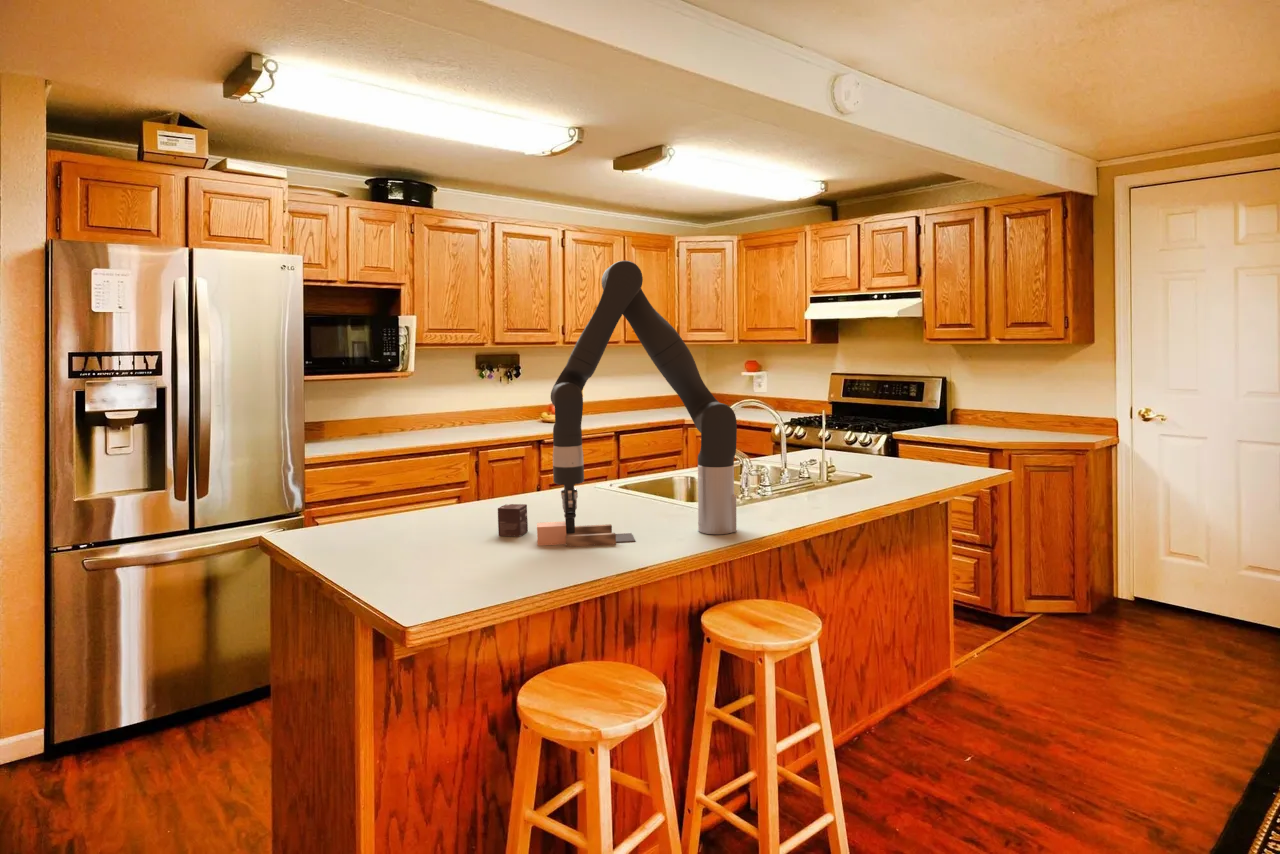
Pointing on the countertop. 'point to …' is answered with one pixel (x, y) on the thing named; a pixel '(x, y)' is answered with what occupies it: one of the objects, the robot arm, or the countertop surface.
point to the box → (512, 520)
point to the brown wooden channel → (591, 536)
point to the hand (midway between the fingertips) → (570, 532)
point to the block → (551, 533)
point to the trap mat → (624, 538)
